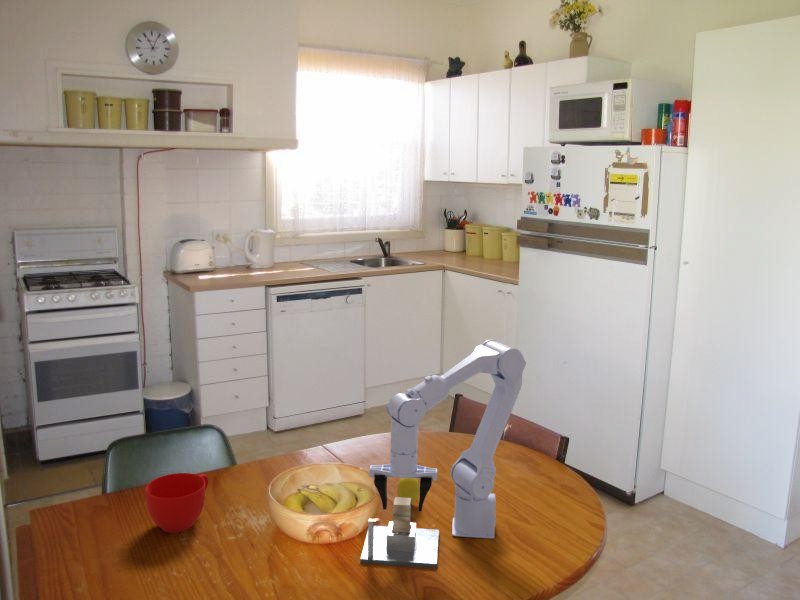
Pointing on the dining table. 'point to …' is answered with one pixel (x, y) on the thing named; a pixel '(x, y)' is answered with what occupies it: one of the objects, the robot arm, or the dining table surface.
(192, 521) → the ceramic cup
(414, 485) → the lemon
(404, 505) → the block
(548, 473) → the dining table surface
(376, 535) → the stand
